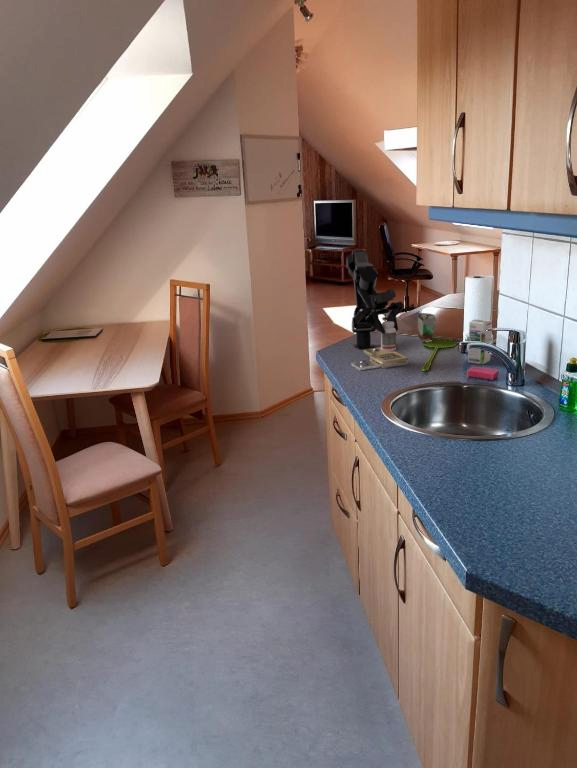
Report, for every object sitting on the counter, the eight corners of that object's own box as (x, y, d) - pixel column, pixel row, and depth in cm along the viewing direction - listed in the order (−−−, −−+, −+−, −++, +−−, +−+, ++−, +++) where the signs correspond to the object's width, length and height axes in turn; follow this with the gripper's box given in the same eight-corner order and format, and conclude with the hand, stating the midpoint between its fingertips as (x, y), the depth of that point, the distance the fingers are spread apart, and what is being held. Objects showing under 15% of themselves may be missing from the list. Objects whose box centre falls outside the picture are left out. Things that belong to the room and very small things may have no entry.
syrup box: (467, 362, 211) (468, 321, 206) (475, 358, 215) (476, 318, 210) (482, 365, 207) (484, 323, 202) (490, 360, 211) (492, 319, 206)
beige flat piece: (340, 359, 225) (339, 351, 224) (383, 352, 230) (383, 344, 229) (361, 371, 208) (361, 363, 207) (408, 363, 214) (408, 356, 213)
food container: (439, 343, 237) (439, 318, 234) (423, 344, 237) (423, 319, 234) (432, 336, 249) (432, 312, 245) (417, 337, 249) (417, 312, 246)
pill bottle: (399, 349, 214) (399, 322, 211) (386, 352, 212) (385, 324, 209) (390, 346, 219) (390, 319, 216) (378, 348, 217) (377, 322, 214)
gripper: (359, 286, 207) (380, 322, 201) (400, 278, 216) (422, 313, 210) (345, 305, 216) (366, 341, 210) (386, 297, 224) (406, 331, 219)
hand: (390, 331), depth 212 cm, fingers closed on pill bottle, 5 cm apart
